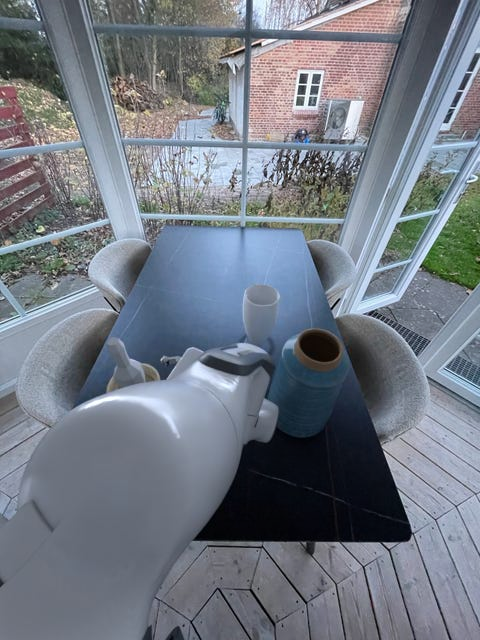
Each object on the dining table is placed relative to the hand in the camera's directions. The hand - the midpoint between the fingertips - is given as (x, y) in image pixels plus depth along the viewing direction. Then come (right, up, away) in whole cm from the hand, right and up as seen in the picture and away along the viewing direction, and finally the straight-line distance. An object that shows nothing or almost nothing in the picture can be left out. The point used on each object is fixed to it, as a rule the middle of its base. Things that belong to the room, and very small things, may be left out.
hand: (150, 375), depth 60 cm
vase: (+36, -11, +10) cm, 39 cm away
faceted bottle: (-7, -7, +12) cm, 16 cm away
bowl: (-7, -8, +12) cm, 16 cm away
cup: (+26, +4, +25) cm, 36 cm away
